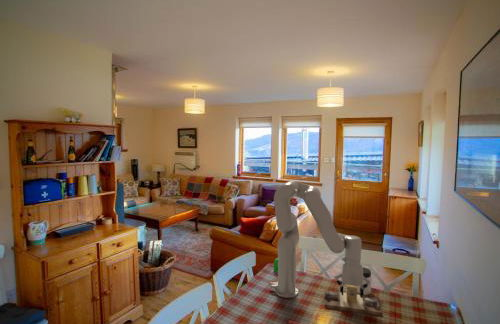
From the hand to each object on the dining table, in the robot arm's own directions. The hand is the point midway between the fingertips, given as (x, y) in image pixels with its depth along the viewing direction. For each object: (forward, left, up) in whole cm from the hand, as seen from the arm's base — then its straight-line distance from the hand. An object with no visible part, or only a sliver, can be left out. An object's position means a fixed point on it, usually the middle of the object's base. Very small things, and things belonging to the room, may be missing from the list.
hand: (351, 294), depth 145 cm
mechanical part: (-38, +30, -5) cm, 49 cm away
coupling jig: (0, 0, -5) cm, 5 cm away
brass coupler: (0, 0, -3) cm, 3 cm away
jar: (+7, +15, -5) cm, 17 cm away
